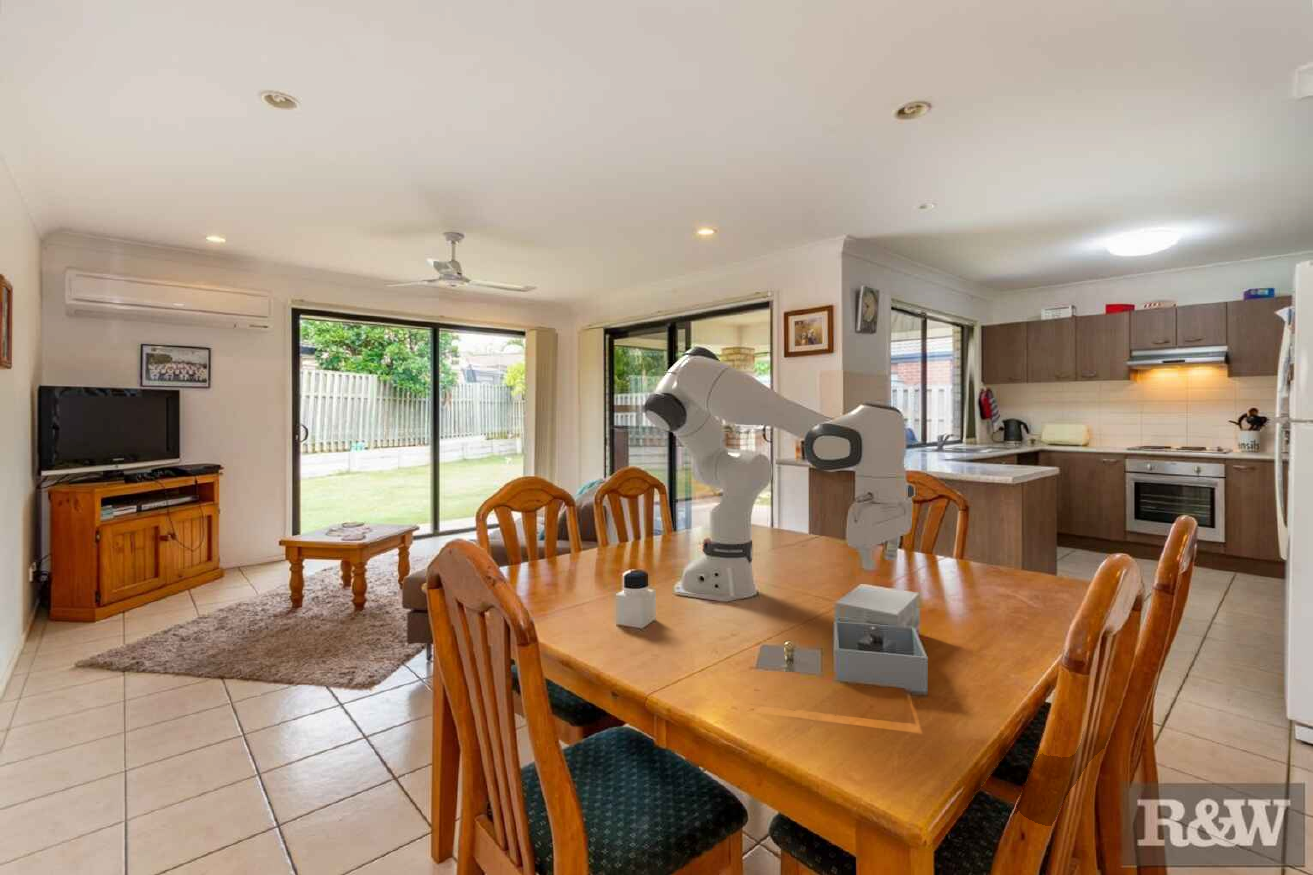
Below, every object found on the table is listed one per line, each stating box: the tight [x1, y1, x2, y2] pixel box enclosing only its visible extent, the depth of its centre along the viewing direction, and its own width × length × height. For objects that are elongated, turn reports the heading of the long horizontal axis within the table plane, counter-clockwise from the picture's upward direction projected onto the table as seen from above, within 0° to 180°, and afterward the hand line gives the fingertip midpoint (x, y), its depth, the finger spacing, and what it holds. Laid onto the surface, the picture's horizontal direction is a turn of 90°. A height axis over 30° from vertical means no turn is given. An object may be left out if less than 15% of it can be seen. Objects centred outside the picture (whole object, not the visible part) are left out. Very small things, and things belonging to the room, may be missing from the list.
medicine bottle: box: [614, 569, 656, 629], centre depth 141 cm, size 7×7×12 cm
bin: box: [833, 620, 929, 697], centre depth 113 cm, size 15×15×7 cm
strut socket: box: [858, 625, 895, 654], centre depth 113 cm, size 5×5×8 cm
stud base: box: [754, 640, 822, 676], centre depth 117 cm, size 12×12×4 cm
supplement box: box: [834, 583, 921, 635], centre depth 130 cm, size 17×13×9 cm
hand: (879, 564), depth 112 cm, fingers open, 8 cm apart
